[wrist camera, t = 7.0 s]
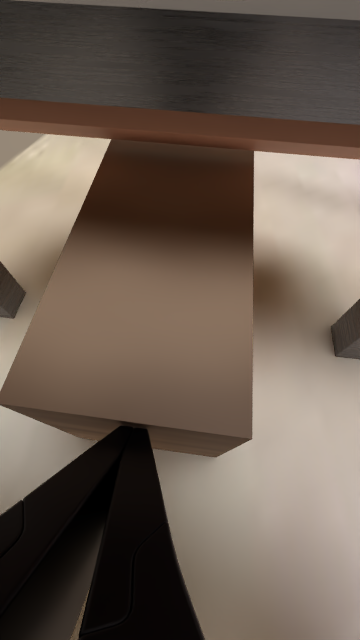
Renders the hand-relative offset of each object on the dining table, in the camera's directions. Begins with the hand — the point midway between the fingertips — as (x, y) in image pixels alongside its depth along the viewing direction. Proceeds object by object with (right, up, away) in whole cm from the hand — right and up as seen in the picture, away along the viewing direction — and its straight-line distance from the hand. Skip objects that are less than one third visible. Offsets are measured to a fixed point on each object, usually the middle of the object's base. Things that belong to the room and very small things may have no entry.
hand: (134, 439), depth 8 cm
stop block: (+1, +3, +9) cm, 10 cm away
